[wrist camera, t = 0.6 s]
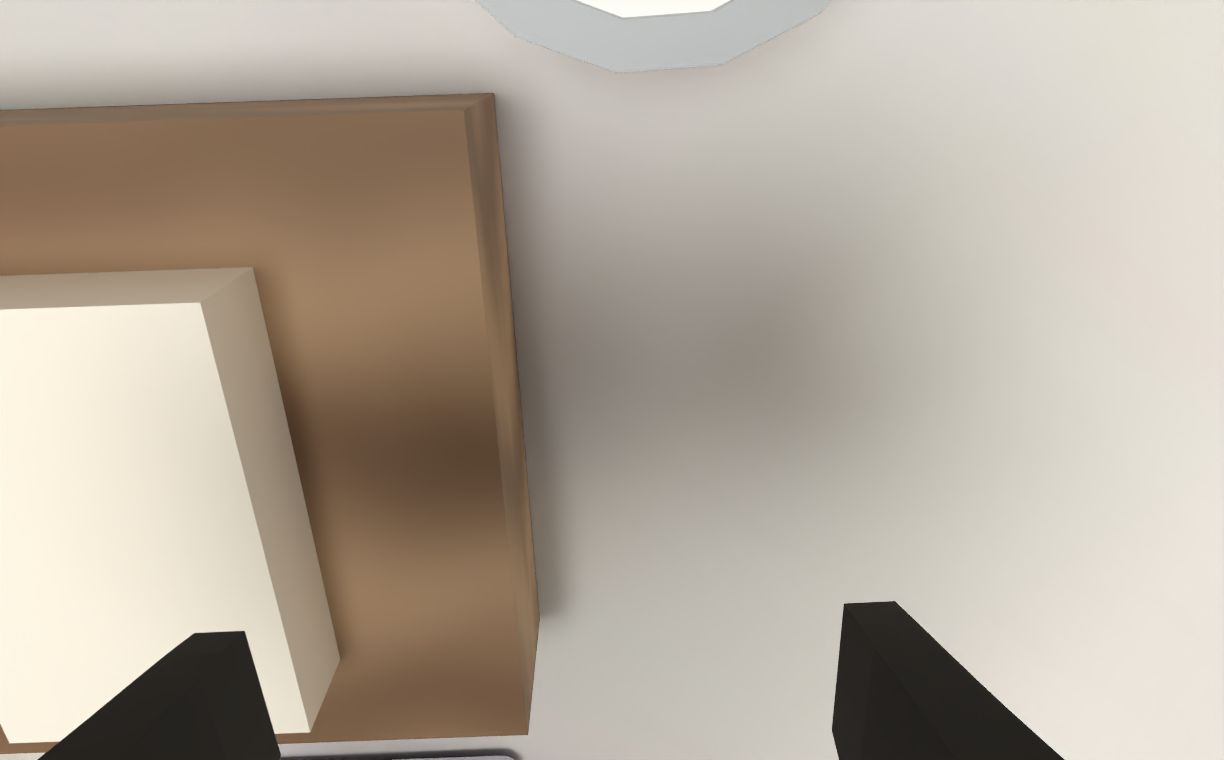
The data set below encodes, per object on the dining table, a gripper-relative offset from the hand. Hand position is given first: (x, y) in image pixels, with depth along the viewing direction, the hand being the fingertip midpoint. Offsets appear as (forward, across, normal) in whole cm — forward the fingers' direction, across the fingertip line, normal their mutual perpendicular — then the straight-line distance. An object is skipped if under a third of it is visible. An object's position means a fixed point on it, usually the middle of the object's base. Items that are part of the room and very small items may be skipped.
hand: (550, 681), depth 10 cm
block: (+6, +8, +1) cm, 11 cm away
